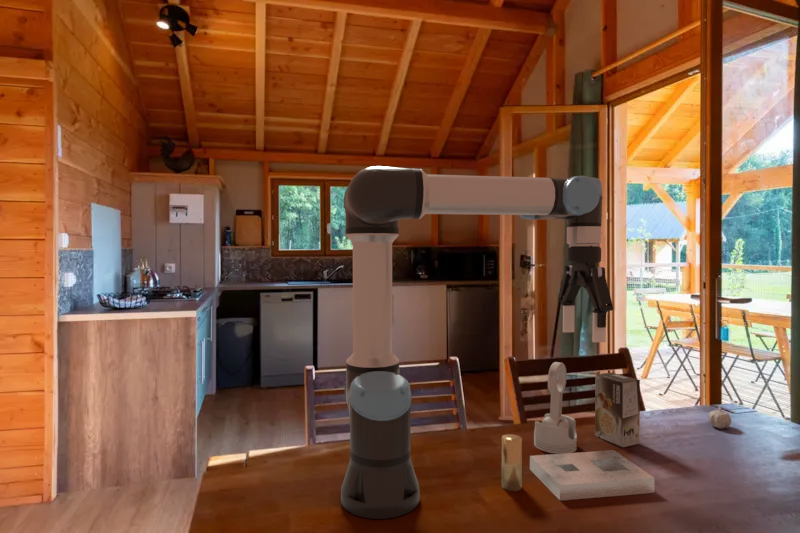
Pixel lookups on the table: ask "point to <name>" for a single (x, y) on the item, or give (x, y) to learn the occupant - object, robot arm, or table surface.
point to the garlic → (719, 419)
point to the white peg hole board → (590, 475)
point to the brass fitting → (511, 462)
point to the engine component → (556, 418)
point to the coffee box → (617, 409)
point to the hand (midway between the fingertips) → (582, 336)
